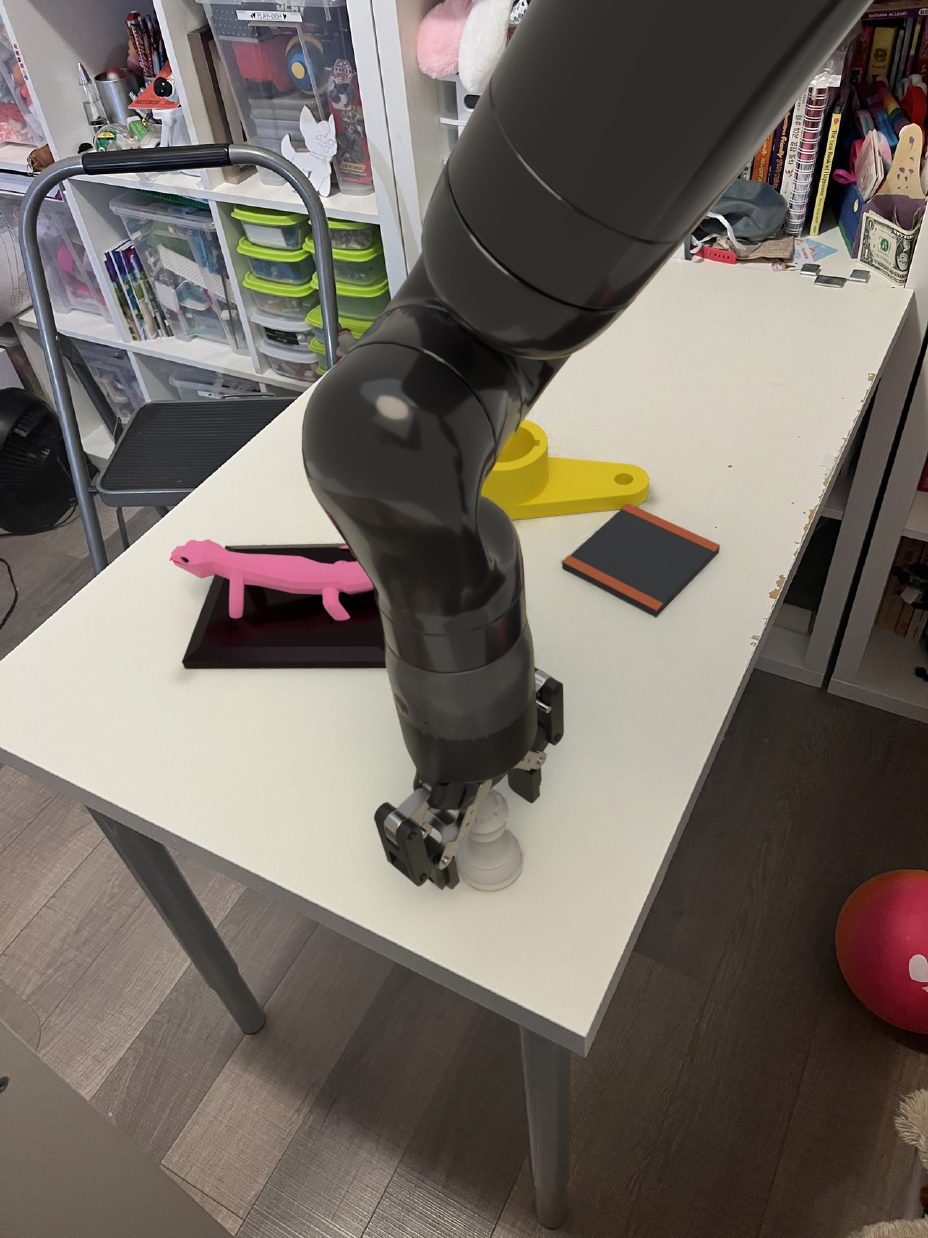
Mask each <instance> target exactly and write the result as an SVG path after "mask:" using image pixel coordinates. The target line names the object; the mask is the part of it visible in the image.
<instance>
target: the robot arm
mask: <svg viewBox="0 0 928 1238" xmlns="http://www.w3.org/2000/svg"><path fill="white" fill-rule="evenodd" d="M874 1H875V0H530V2H529V4H528V5H527V7H526V10H525V11H524V13H523V15H522V17H521V18H520V21H518V24H517V26H516V28H515V30H514V31H513V33H512V35H511V37H510V39H509V40H508V43H507V45H506V46H505V49H504V50H503V52H502V54H501V56H500V57H499V59H498V62H497V63H496V66H495V68H494V69H493V71H492V74H491V75H490V77H489V79H488V81H487V83H486V85H485V87H484V89H483V91H482V93H481V95H480V96H479V97H478V100H477V102H476V104H475V106H474V108H473V110H472V112H471V114H470V116H469V118H468V120H467V121H466V123H465V126H464V127H463V129H462V131H461V133H460V135H459V137H458V139H457V141H456V142H455V145H454V146H453V149H452V150H451V153H450V154H449V156H448V158H447V160H446V162H445V164H444V166H443V167H442V170H441V172H440V173H439V176H438V179H437V180H436V184H435V186H434V188H433V191H432V194H431V196H430V198H429V202H428V204H427V207H426V210H425V213H424V217H423V221H422V226H421V235H420V236H421V237H420V247H421V253H420V255H419V256H418V258H417V260H416V262H415V263H414V265H413V267H412V268H411V270H410V271H409V273H408V275H407V276H406V278H405V279H404V281H403V283H402V284H401V286H400V287H399V289H398V290H397V291H396V293H395V295H394V296H393V297H392V298H391V300H390V301H389V303H388V304H387V306H386V307H385V308H384V310H383V311H382V312H381V314H380V315H379V316H377V318H375V320H374V321H373V322H372V323H371V325H369V327H368V328H367V329H366V330H365V331H364V332H363V333H362V335H361V336H360V337H359V338H357V340H355V344H354V345H353V346H352V347H351V348H350V349H349V350H348V351H347V352H346V354H345V355H344V356H343V357H342V358H341V359H340V360H339V361H338V362H337V363H336V362H335V364H334V365H333V366H331V368H330V369H329V370H328V371H327V372H326V374H325V375H324V376H323V377H322V378H321V379H320V381H319V382H318V384H317V385H316V386H315V388H314V389H313V391H312V393H311V395H310V396H309V399H308V401H307V404H306V407H305V410H304V413H303V418H302V426H301V455H302V463H303V468H304V473H305V477H306V480H307V482H308V485H309V487H310V489H311V492H312V493H313V496H314V497H315V499H316V501H317V502H318V504H319V505H320V507H321V509H322V510H323V511H324V513H325V514H326V516H327V517H328V519H329V520H330V522H331V524H332V525H333V526H334V528H335V529H336V531H337V532H338V534H339V536H340V537H341V538H342V540H343V541H344V543H346V544H347V546H348V548H349V549H350V551H351V552H352V554H353V556H354V557H355V559H356V560H357V561H358V563H359V564H360V566H361V567H362V569H363V570H364V571H365V573H366V574H367V576H368V577H369V579H370V580H371V582H372V586H373V591H374V596H375V600H376V605H377V609H378V613H379V617H380V622H381V626H382V630H383V634H384V650H385V662H386V668H385V669H386V672H387V675H388V680H389V685H390V689H391V693H392V697H393V701H394V706H395V709H396V714H397V718H398V722H399V725H400V729H401V730H400V731H401V734H402V738H403V742H404V745H405V748H406V750H407V753H408V755H409V757H410V759H411V761H412V763H413V766H414V767H415V774H414V779H413V782H412V789H413V790H412V791H413V792H412V793H411V794H410V795H409V796H408V797H407V798H406V799H405V800H404V801H403V802H402V803H401V804H400V805H398V807H395V806H394V805H392V804H391V803H390V802H389V801H385V802H383V803H382V804H381V805H379V806H378V808H377V809H376V810H375V812H374V815H373V820H374V823H375V826H376V830H377V833H378V835H379V838H380V841H381V844H382V848H383V851H384V854H385V859H386V860H387V862H388V863H389V864H390V865H391V866H392V867H394V868H395V869H396V870H397V871H398V872H400V873H401V875H403V876H404V877H406V878H407V879H408V880H409V881H411V882H412V884H414V885H415V886H416V887H422V885H424V884H425V883H426V882H427V881H429V882H431V883H432V884H433V885H434V886H435V887H437V888H438V889H439V890H442V891H443V890H444V889H445V888H448V889H449V890H451V891H453V890H454V889H455V887H457V885H459V883H460V882H461V878H460V874H459V869H458V863H457V859H456V856H455V852H456V849H457V846H458V843H459V841H460V839H464V837H465V836H467V835H468V834H469V833H470V830H471V828H472V825H473V822H474V820H475V817H476V814H477V812H478V809H479V806H480V803H481V801H482V800H484V799H486V798H487V796H488V793H489V791H490V789H491V788H494V787H495V786H497V785H498V784H499V783H500V782H501V781H502V780H503V779H505V777H506V776H507V784H508V787H509V788H510V790H511V791H512V792H513V793H515V794H516V795H518V796H519V797H521V798H522V799H523V800H524V801H526V802H527V803H529V804H534V803H535V802H536V801H537V800H538V799H539V798H540V796H541V790H540V789H541V788H540V787H541V783H542V779H543V778H542V766H544V764H545V763H546V761H547V757H548V755H547V752H545V750H546V749H547V747H549V745H552V746H554V747H555V746H557V745H558V744H559V743H560V742H561V741H562V739H563V737H564V734H565V712H564V711H565V709H564V706H565V705H564V704H565V703H564V683H563V682H561V681H559V680H558V679H556V678H554V677H553V676H552V675H550V674H549V673H546V672H545V671H543V670H541V669H540V668H538V667H536V665H535V649H534V641H533V639H534V638H533V634H532V630H531V627H530V626H531V625H530V623H529V619H528V613H527V595H526V579H525V564H524V556H523V551H522V545H521V540H520V536H519V533H518V530H517V528H516V526H515V524H514V522H513V521H514V520H511V519H510V517H509V516H508V515H507V513H506V512H505V511H504V510H503V509H502V508H501V507H500V506H499V505H498V504H496V503H495V502H494V501H492V500H490V499H489V498H487V497H485V496H482V495H481V492H482V487H483V484H484V483H485V481H486V480H487V478H488V476H489V475H490V473H491V471H492V470H493V468H494V467H495V465H496V463H497V462H498V460H499V459H500V457H501V455H502V454H503V452H504V450H505V449H506V447H507V446H508V444H509V442H510V441H511V439H512V438H513V436H514V435H515V433H516V431H517V430H518V428H519V427H520V425H521V423H522V422H523V421H524V419H525V420H526V418H527V416H528V415H529V413H530V412H531V410H532V409H533V407H534V406H535V405H536V403H537V402H538V400H539V399H540V397H542V395H543V394H544V392H545V391H546V389H547V388H548V387H549V385H550V384H551V382H552V381H553V380H554V378H555V377H556V376H557V375H558V373H559V372H560V370H561V369H562V368H563V367H564V366H565V364H566V363H567V362H568V360H570V358H571V357H572V355H573V354H575V353H577V352H579V351H582V350H583V349H585V348H586V347H588V346H590V345H591V344H592V343H594V341H596V340H597V339H598V338H599V337H600V336H601V335H602V334H604V333H605V332H606V331H607V330H608V329H609V328H610V327H611V326H612V325H614V324H615V322H616V321H617V320H618V319H619V318H620V317H621V316H622V315H623V314H624V313H625V311H626V310H627V309H628V308H629V307H630V306H631V305H632V304H633V303H634V302H635V301H636V299H637V298H638V296H640V294H641V293H642V292H643V291H644V290H645V289H646V287H647V286H648V285H649V284H650V283H651V282H652V281H653V280H654V278H655V277H656V276H657V275H658V273H659V272H660V271H661V270H662V269H663V268H664V267H665V266H666V264H667V263H668V262H669V260H671V258H672V257H673V256H674V255H675V253H676V252H677V251H678V250H679V249H680V248H681V247H682V245H683V244H684V243H685V241H687V239H688V238H689V237H690V236H691V235H692V234H693V233H694V231H695V230H696V228H697V227H698V226H699V225H701V223H702V221H703V220H704V219H705V218H706V217H707V216H708V214H709V213H710V212H711V210H713V208H714V207H715V206H716V204H717V203H718V202H719V201H720V200H721V199H722V197H723V196H724V195H725V194H726V192H727V191H728V190H729V189H730V187H731V186H732V185H733V184H734V182H735V181H736V180H737V179H738V178H739V176H740V175H741V174H742V173H743V171H744V170H745V169H746V168H747V166H748V165H749V163H750V162H751V161H752V160H753V159H754V157H755V156H756V155H757V154H758V153H759V151H760V150H761V148H762V147H763V146H764V145H765V144H766V142H767V141H768V140H769V138H770V137H771V135H773V133H774V132H775V130H776V129H777V128H778V127H779V125H780V124H781V123H782V122H783V120H784V118H785V117H786V116H787V115H788V113H789V112H790V111H791V110H792V108H793V107H794V106H795V104H796V103H797V102H798V100H799V99H800V98H801V96H803V94H804V93H805V91H806V90H807V89H808V88H809V86H810V85H811V83H812V82H813V80H815V78H816V76H817V75H818V74H819V73H820V71H821V70H822V68H823V67H824V66H825V65H826V63H827V62H828V60H829V59H830V58H831V56H832V55H833V54H834V53H835V51H836V50H837V48H839V46H840V44H841V43H842V42H843V41H844V39H845V38H846V37H847V36H848V34H849V33H850V32H851V30H852V29H853V28H854V27H855V25H856V24H857V23H858V21H860V19H861V18H862V17H863V15H864V14H865V12H866V11H867V10H868V8H869V7H870V6H871V4H872V3H873V2H874ZM458 810H459V812H458V814H457V815H454V813H452V812H450V811H458ZM433 829H435V830H436V831H437V832H438V833H439V834H440V836H441V839H440V841H439V840H437V839H436V838H435V837H433V835H432V831H433Z"/></svg>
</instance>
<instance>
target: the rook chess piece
mask: <svg viewBox="0 0 928 1238" xmlns="http://www.w3.org/2000/svg"><path fill="white" fill-rule="evenodd" d="M456 811H457V812H456V814H457V815H458V812H459V810H456ZM509 811H510V808H509V804H508V801H507V799H506V798H505V797H504V796H503V795H502V793H500V792H499V791H498V790H497V791H496V788H494V787H493V788H491V789H490V791H489V793H488V796H487V798H486V799H484V800H482V801H481V803H480V806H479V809H478V812H477V814H476V817H475V820H474V822H473V825H472V828H471V830H470V833H469V834H468V835H467V836H465V837H463V838H462V840H461V842H460V844H459V846H458V852H457V859H458V860H457V866H458V868H459V869H458V870H459V873H460V875H461V876H462V878H463V879H464V880H465V881H466V883H467V884H468V885H470V886H472V887H474V888H476V889H478V890H480V891H481V890H482V891H488V892H489V891H490V892H493V891H497V890H501V889H505V888H506V887H508V886H509V885H510V884H512V883H513V882H514V881H516V879H517V878H518V876H519V875H520V873H521V871H522V868H523V861H524V860H523V858H524V857H523V853H522V849H521V846H520V842H519V840H518V839H517V838H516V836H515V835H514V834H513V833H512V832H511V831H510V830H509V829H507V823H508V821H507V820H508V817H509Z"/></svg>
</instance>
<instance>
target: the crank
mask: <svg viewBox="0 0 928 1238" xmlns="http://www.w3.org/2000/svg"><path fill="white" fill-rule="evenodd" d="M649 487H650V476H649V473H647V471H646V470H645V469H644V468H642V467H640V466H638V465H635V464H631V463H623V462H609V461H600V460H589V459H580V458H568V457H567V458H566V457H559V456H558V457H557V456H549V441H548V435H547V433H546V432H545V430H544V429H543V428H542V427H541V426H539V425H538V424H537V423H535V422H533V421H530V420H529V419H526V418H525V419H524V421H523V422H522V423H521V425H520V427H519V428H518V430H517V431H516V433H515V435H514V436H513V438H512V439H511V441H510V442H509V444H508V446H507V447H506V449H505V450H504V452H503V454H502V455H501V457H500V459H499V460H498V462H497V463H496V465H495V467H494V468H493V470H492V471H491V473H490V475H489V476H488V478H487V480H486V481H485V483H484V484H483V487H482V492H481V495H482V496H485V497H487V498H489V499H490V500H492V501H494V502H495V503H496V504H498V505H499V506H500V507H501V508H502V509H503V510H504V511H505V512H506V513H507V515H508V516H509V517H510V519H511V520H512V521H515V520H525V519H535V518H545V517H555V516H557V517H558V516H567V515H576V514H585V513H586V514H587V513H595V512H597V513H598V512H606V511H615V510H621V508H622V507H623V506H624V505H625V504H626V503H629V504H631V505H633V506H635V507H638V506H641V505H643V503H645V501H646V500H647V499H648V497H649Z"/></svg>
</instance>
